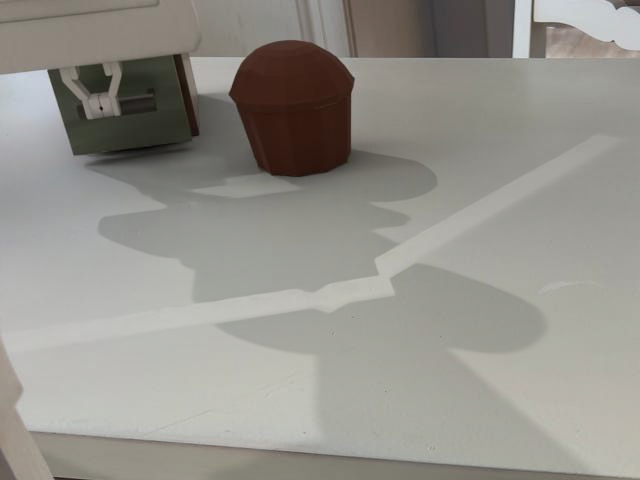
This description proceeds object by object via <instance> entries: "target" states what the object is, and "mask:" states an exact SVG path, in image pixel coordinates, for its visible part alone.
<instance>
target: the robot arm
mask: <svg viewBox="0 0 640 480" xmlns="http://www.w3.org/2000/svg"><path fill="white" fill-rule="evenodd" d="M195 5H196V4H195V3H194V0H0V76H3V75H12V74H21V73H29V72H37V71H47V69H56V68H59V71H60V74H61V78H62V81H63V82H64V83H65V85H66V86H67V87H68V88H69V89H70V90H71V91H72V92H73V93H74V94H75V95H76V96H77V97H78V98H79V99H80V100H82V103H83V106H84V110H85V113H86V116H87V119H96V118H103V117H113V116H121V107H120V103H119V100H118V96H117V91H118V87H119V84H120V80H121V76H122V71H123V67H122V63H121V61H124V60H132V59H141V58H149V57H158V56H166V55H175V54H183V53H189V54H190V53H195V52H197V51H198V50H199V47H200V46H201V44H202V42H203V32H202V31H203V30H202V27H201V23H200V19H199V16H198V15H199V14H198V12H197V9H196V6H195ZM98 63H102V64H103V68H104V71H105V75H107V76H111V75H113V76H112V80H111V84H110V88H109V92H102V93H93V94H90V92H89V91H88V90H87V89H86V88H85V87H84V85H83V84H82V83H81V82H80V81H79V80H78V77H79V74H80V70H79V66H81V65H90V64H98Z"/></svg>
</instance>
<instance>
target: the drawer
mask: <svg viewBox="0 0 640 480" xmlns="http://www.w3.org/2000/svg"><path fill="white" fill-rule="evenodd" d="M121 63H122V67H123V71H122V76H121V80H120V84H119V87H118V91H117V96H118V100H119V103H120V107H121V116H113V117H103V118H96V119H87V116H86V113H85V110H84V106H83V103H82V100H80V99H79V98H78V97H77V96H76V95H75V94H74V93H73V92H72V91H71V90H70V89H69V88H68V87H67V86H66V85H65V83H64V82H63V81H62V78H61V74H60V71H59V68H56V69H47V70H46V73H47V75H48V78H49V82H50V85H51V88H52V91H53V94H54V97H55V101H56V104H57V107H58V110H59V114H60V117H61V120H62V123H63V126H64V130H65V132H66V136H67V139H68V142H69V146H70V150H71V153H72V155H73V156H74V157H77V156H85V155H92V154H100V153H108V152H116V151H122V150H123V151H124V150H130V149H136V148H145V147H152V146H153V147H154V146H161V145H167V144H174V143H183V142H191V141H193V135H191V131H190V127H189V122H188V118H187V114H186V110H185V105H184V100H183V96H182V92H181V87H180V83H179V79H178V75H177V70H176V66H175V62H174V58H173V55H166V56H158V57H149V58H141V59H132V60H124V61H121ZM79 70H80V74H79V77H78V80H79V81H80V82H81V83H82V84H83V85H84V87H85V88H86V89H87V90H88V91H89V92H90V94H93V93H102V92H109V88H110V84H111V80H112V76H113V75H111V76H107V75H105V71H104V68H103V64H102V63H98V64H90V65H81V66H79Z"/></svg>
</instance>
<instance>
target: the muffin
mask: <svg viewBox="0 0 640 480" xmlns="http://www.w3.org/2000/svg"><path fill="white" fill-rule="evenodd" d="M355 80H356V77H355V76H354V75H353V74H352V73H351V72H350V70H349V68H347V67H346V65H345V64H344V62H342V61H341V59H340V58H339V57H337V56H336V55H335V54H333V53H332V52H331V51H330V50H327V49H325V48H323V47H322V46H319V45H317V44H316V43H313V42H312V41H311V42H310V41H305V40H298V39H284V40H276V41H272V42H269V43H266V44H263V45H261V46H259V47H257V48H255V49H254V50H253V51H252V52H250V53H249V54H248V55H247V56H246V57H245V58H244V59H243V60H242V61H241V63H240V64H239V66H238V69H237V71H236V73H235V75H234V78H233V81H232V84H231V87H230V90H229V92H228V94H227V95H228V96H229V97H230V99H231V100H232V102H233V103H234V104H235V106H236V110H237V112H238V114H239V118H240V120H241V124H242V126H243V129H244V131H245V134H246V137H247V140H248V142H249V146H250V148H251V151H252V154H253V157H254V159H255V162H256V165H257V168H259V169H261V170H264V171H266V172H267V173H268V174H269V175H271V176H289V177H290V176H291V177H303V176H307V175H313V174H320V173H321V174H322V173H328V172H330V171H332V170H333V169H335V168H337V167H339V166H342V165H345V164H347V163H348V162H349V156H350V155H351V153H352V92H353V89H354V87H355Z"/></svg>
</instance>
